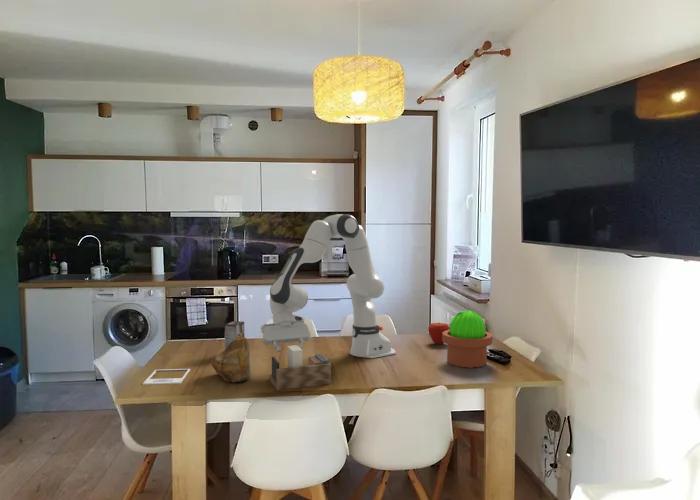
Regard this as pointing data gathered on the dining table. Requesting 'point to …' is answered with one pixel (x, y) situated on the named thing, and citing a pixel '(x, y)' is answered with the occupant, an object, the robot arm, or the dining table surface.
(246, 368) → the rough brown rock
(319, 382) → the shelf
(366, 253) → the robot arm
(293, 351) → the white rectangular block
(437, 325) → the apple
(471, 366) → the potted cactus
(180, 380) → the photo frame
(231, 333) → the coffee box
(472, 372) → the dining table surface
